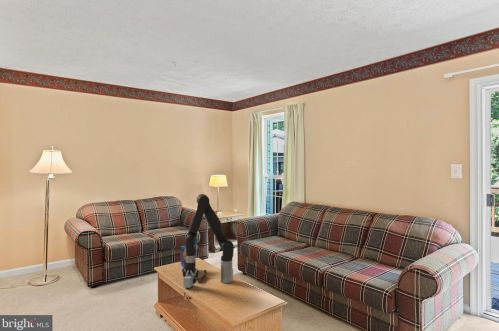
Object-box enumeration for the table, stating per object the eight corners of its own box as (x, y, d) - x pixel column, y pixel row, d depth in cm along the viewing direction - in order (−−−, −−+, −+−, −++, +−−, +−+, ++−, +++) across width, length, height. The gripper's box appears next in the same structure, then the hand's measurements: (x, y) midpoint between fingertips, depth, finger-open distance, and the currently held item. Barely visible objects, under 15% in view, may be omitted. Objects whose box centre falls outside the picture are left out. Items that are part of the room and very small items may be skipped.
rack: (206, 276, 253) (206, 269, 253) (199, 283, 239) (199, 275, 239) (195, 275, 255) (195, 268, 255) (188, 282, 241) (188, 274, 241)
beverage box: (195, 270, 267) (195, 245, 268) (184, 273, 260) (184, 248, 260) (191, 268, 273) (191, 244, 273) (180, 271, 265) (180, 246, 265)
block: (194, 283, 235) (194, 274, 235) (189, 287, 227) (189, 278, 227) (188, 283, 236) (188, 274, 236) (183, 287, 228) (183, 277, 228)
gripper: (179, 261, 232) (180, 283, 232) (197, 263, 228) (197, 285, 229) (184, 258, 239) (184, 280, 239) (201, 260, 236) (201, 281, 236)
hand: (190, 282), depth 234 cm, fingers closed on block, 5 cm apart
